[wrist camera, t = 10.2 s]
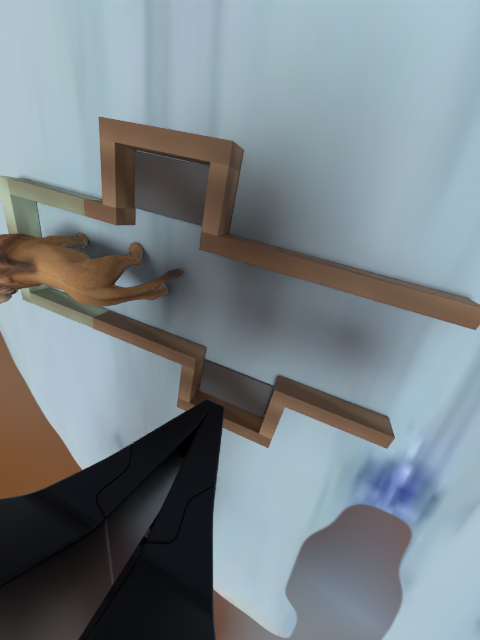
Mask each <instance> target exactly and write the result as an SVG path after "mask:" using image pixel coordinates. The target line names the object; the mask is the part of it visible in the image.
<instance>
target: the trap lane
mask: <svg viewBox="0 0 480 640" xmlns="http://www.w3.org/2000/svg"><path fill="white" fill-rule="evenodd" d="M99 132H100V155H101V177H102V199H103V200H100V199H96V198H93V197H89V196H85V195H82V194H78V193H74V192H70V191H67V190H63V189H59V188H56V187H52V186H48V185H44V184H41V183H37V182H33V181H30V180H26V179H22V178H14V177H7V176H0V195H1V199H2V204H3V209H4V213H5V218H6V223H7V227H8V232H9V234H13V233H19V234H26V235H31V236H35V237H39V238H42V237H41V230H40V224H39V218H38V211H37V205H36V202H39V203H42V204H46V205H49V206H52V207H56V208H59V209H63V210H66V211H70V212H73V213H76V214H80V215H83V216H87V217H90V218H93V219H97V220H100V221H104V222H107V223H111V224H114V225H135V208H137V209H141V210H144V211H148V212H152V213H156V214H159V215H163V216H167V217H170V218H174V219H178V220H182V221H185V222H189V223H193V224H197V225H200V226H202V231H201V239H200V247H199V249H200V250H203V251H206V252H210V253H213V254H217V255H220V256H224V257H227V258H230V259H234V260H237V261H241V262H244V263H248V264H251V265H254V266H258V267H261V268H265V269H268V270H271V271H275V272H278V273H282V274H285V275H289V276H292V277H295V278H299V279H302V280H306V281H309V282H313V283H316V284H319V285H323V286H326V287H330V288H333V289H337V290H340V291H343V292H347V293H350V294H354V295H357V296H360V297H364V298H367V299H371V300H374V301H378V302H381V303H384V304H388V305H391V306H395V307H398V308H402V309H405V310H408V311H412V312H415V313H419V314H422V315H426V316H429V317H432V318H436V319H439V320H443V321H446V322H450V323H453V324H456V325H460V326H463V327H467V328H470V329H473V330H476V329H477V328H478V326H479V325H480V305H479V304H478V303H476V302H474V301H472V300H470V299H467V298H463V297H459V296H456V295H452V294H448V293H445V292H441V291H437V290H433V289H430V288H426V287H422V286H419V285H415V284H411V283H408V282H404V281H400V280H396V279H393V278H389V277H385V276H382V275H378V274H374V273H370V272H367V271H363V270H359V269H356V268H352V267H348V266H345V265H341V264H337V263H333V262H330V261H326V260H322V259H319V258H315V257H311V256H308V255H304V254H300V253H296V252H293V251H289V250H285V249H282V248H278V247H274V246H270V245H267V244H263V243H259V242H256V241H252V240H248V239H245V238H241V237H237V236H233V235H230V234H229V230H230V224H231V218H232V213H233V207H234V201H235V196H236V190H237V185H238V179H239V173H240V168H241V162H242V157H243V151H244V150H243V149H242V148H241V147H239V146H238V145H237V144H236V143H235V142H233V141H230V140H224V139H219V138H213V137H208V136H202V135H197V134H191V133H186V132H180V131H175V130H169V129H164V128H158V127H153V126H147V125H142V124H136V123H131V122H125V121H120V120H114V119H109V118H103V117H99ZM136 150H139V151H144V152H148V153H153V154H158V155H163V156H167V157H172V158H177V159H182V160H187V161H191V162H196V163H201V164H206V165H210V167H208V166H204V165H199V164H194V163H189V162H185V161H180V160H175V159H170V158H166V157H161V156H156V155H151V154H147V153H142V152H137V151H136ZM21 293H22V297H23V300H25V301H28V302H30V303H33V304H35V305H37V306H40V307H42V308H45V309H47V310H50V311H52V312H55V313H57V314H59V315H62V316H64V317H67V318H69V319H72V320H74V321H77V322H79V323H81V324H84V325H86V326H89V327H91V328H94V329H96V330H99V331H101V332H103V333H106V334H108V335H111V336H113V337H116V338H118V339H121V340H123V341H125V342H128V343H130V344H133V345H135V346H138V347H140V348H142V349H145V350H147V351H150V352H152V353H155V354H157V355H160V356H162V357H164V358H167V359H169V360H172V361H174V362H177V363H179V364H182V371H181V379H180V387H179V395H178V403H177V407H179V408H181V409H183V410H185V411H187V410H189V409H191V408H192V407H194V406H196V405H197V404H199V403H201V402H202V401H204V400H206V399H209V400H211V401H213V402H215V404H216V403H218V404H220V405H223V406H224V407H225V409H224V418H223V428H225V429H227V430H229V431H232V432H234V433H236V434H238V435H240V436H243V437H245V438H247V439H249V440H251V441H254V442H256V443H258V444H260V445H263V446H265V447H267V448H268V447H269V445H270V442H271V440H272V437H273V435H274V432H275V430H276V427H277V425H278V422H279V420H280V417H281V415H282V413H283V410H284V408H285V407H287V408H289V409H291V410H294V411H296V412H299V413H301V414H304V415H306V416H309V417H311V418H313V419H316V420H318V421H321V422H323V423H326V424H328V425H331V426H333V427H335V428H338V429H340V430H343V431H345V432H348V433H350V434H352V435H355V436H357V437H360V438H362V439H365V440H367V441H370V442H372V443H374V444H377V445H379V446H382V447H384V448H388V446H389V445H390V444H391V442H392V441H393V440H394V438H395V437H394V433H393V430H392V427H391V423H390V420H389V418H388V417H386V416H383V415H381V414H378V413H375V412H373V411H370V410H368V409H365V408H362V407H360V406H357V405H354V404H352V403H349V402H347V401H344V400H341V399H339V398H336V397H334V396H331V395H328V394H326V393H323V392H321V391H318V390H315V389H313V388H310V387H308V386H305V385H302V384H300V383H297V382H295V381H292V380H289V379H287V378H284V377H282V376H279V377H278V380H277V383H276V385H275V388H274V386H272V385H269V384H267V383H264V382H261V381H259V380H256V379H254V378H251V377H249V376H246V375H244V374H241V373H239V372H236V371H234V370H231V369H229V368H226V367H224V366H221V365H218V364H216V363H213V362H211V361H208V360H206V359H205V353H206V347H203V346H201V345H198V344H196V343H193V342H190V341H188V340H185V339H182V338H180V337H177V336H175V335H172V334H169V333H167V332H164V331H162V330H159V329H156V328H154V327H151V326H149V325H146V324H143V323H141V322H138V321H136V320H133V319H130V318H128V317H125V316H123V315H120V314H117V313H115V312H112V311H110V310H107V309H104V308H102V307H99V306H89V305H84V304H82V303H80V302H78V301H76V300H74V299H73V298H71V297H70V296H69V295H68V294H65V293H63V292H60V291H57V290H55V289H52V288H50V287H49V286H48V285H45V284H42V285H40V286H35V287H29V288H22V289H21ZM204 359H205V360H204ZM203 364H204V366H203ZM202 370H203V371H202ZM201 376H202V377H201ZM200 382H201V383H200ZM199 387H200V389H199ZM273 388H274V391H273ZM272 391H273V394H272V397H271V399H270V396H271V393H272ZM269 399H270V402H269ZM268 402H269V405H268ZM267 405H268V408H267V411H266V413H265V410H266V407H267ZM264 413H265V416H264ZM263 416H264V417H263Z"/></svg>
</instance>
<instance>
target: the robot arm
mask: <svg viewBox="0 0 480 640" xmlns="http://www.w3.org/2000/svg"><path fill="white" fill-rule="evenodd" d="M224 409H225V407H224V406H223V405H220V404H218V403H216V404H215V402H213V401H211V400H209V399H206V400H204V401H202V402H201V403H199V404H197V405H196V406H194V407H192V408H191V409H189V410H187V411H185V412H184V413H182V414H180V415H179V416H177V417H175V418H174V419H172V420H170V421H169V422H167V423H165V424H164V425H162V426H160V427H159V428H157V429H155V430H154V431H152V432H150V433H149V434H147V435H145V436H144V437H142V438H140V439H139V440H137V441H135V442H134V443H133V444H130V445H129V446H127V447H125V448H124V449H122V450H120V451H118V452H117V453H115V454H113V455H111V456H109V457H108V458H106V459H104V460H102V461H100V462H98V463H96V464H94V465H92V466H90V467H88V468H86V469H84V470H82V471H80V472H78V473H75V474H74V475H71V476H69V477H67V478H65V479H63V480H61V481H59V482H57V483H55V484H53V485H50V486H48V487H46V488H44V489H41V490H38V491H36V492H33V493H30V494H26V495H22V496H16V497H10V498H3V499H0V640H216V632H215V621H214V606H213V605H214V604H213V511H214V499H215V490H216V487H215V486H216V480H217V471H218V462H219V454H220V445H221V436H222V427H223V418H224Z"/></svg>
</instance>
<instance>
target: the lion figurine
mask: <svg viewBox="0 0 480 640" xmlns="http://www.w3.org/2000/svg"><path fill="white" fill-rule="evenodd" d="M87 244H88V240H87V238H86V236H85V235H84V234H82V233H78V234H77V235H76V238H74V237H62V236H49V237H46V238H39V237H35V236H31V235H26V234H19V233H13V234H3V235H0V304H1V303H3V302H7V301H8V300H9V299H10V298H11V297H12V294H15V293H16V292H18V289H22V288H29V287H35V286H40V285H42V284H45V285H48V286H50V287H53V288H57V289H62V290H64V291H65V292H66V293H67V294H68V295H69V296H70V297H71V298H73V299H74V300H76V301H78V302H80V303H82V304H84V305H89V306H110V305H116V304H120V303H123V302H127V301H132V300H139V299H147V300H154V299H157V298H159V297H161V296H165V295H167V294H168V287H167V286H166V285H165V284H163V283H164V282H166V281H168V280H169V279H171V278H175V277H178V276H180V275H182V274H183V269H176V270H171V271H168V272H167V273H166V274H165V275H163V276H161V277H160V278H158V279H156V280H154V281H151V282H148V283H145V284H142V285H139V286H134V287H128V288H123V287H119V286H116V285H115V282H116V281H117V280H118V279H119V277H120V276H121V275H122V273H123V272H124V271H125V270H126V269H127V268H128V267H129V266H131V265H139V264H140V263H141V260H142V256H143V249H142V247H141V246H140V245H139V244H138V243H132V244H131V245H130V247H129V253H130V255H108V256H104V257H101V258H93V259H90V258H89V257H88V256H87V255H86V254H84V253H81V252H79V251H77V250H74V249H70V248H83V247H86V246H87Z"/></svg>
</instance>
